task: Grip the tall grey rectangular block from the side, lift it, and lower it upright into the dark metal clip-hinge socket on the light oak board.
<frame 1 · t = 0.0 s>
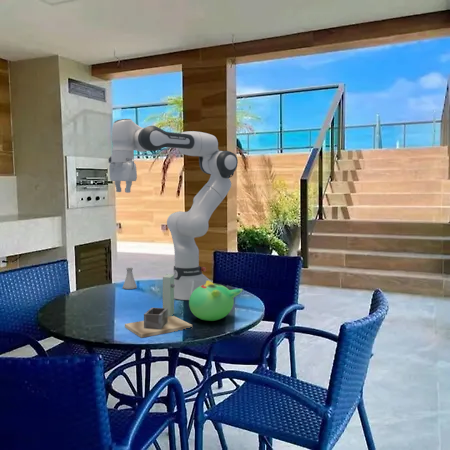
hand: (123, 192, 195), 48 cm above the table, tool pointing down, fingers open, 8 cm apart
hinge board: (158, 327, 170), on the table
tall grey rectangular block: (168, 315, 186), on the table
toy bird: (212, 320, 181), on the table
flask: (129, 288, 233), on the table
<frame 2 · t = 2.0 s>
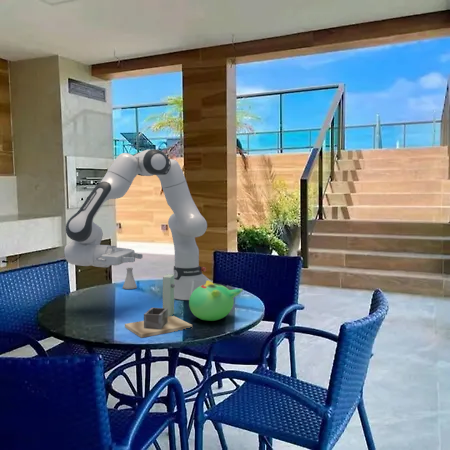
hand: (138, 258, 185), 23 cm above the table, tool horizontal, fingers open, 8 cm apart
nothing on the table moved.
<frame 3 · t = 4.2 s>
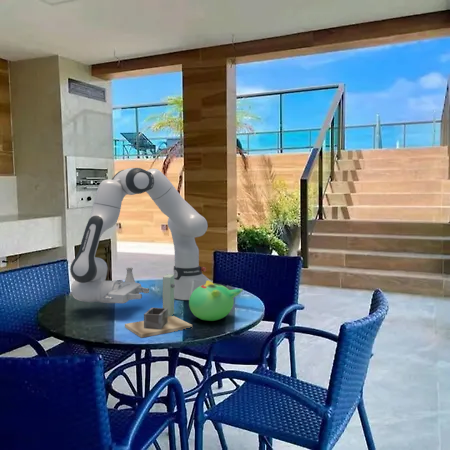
hand: (145, 293, 186), 8 cm above the table, tool horizontal, fingers open, 8 cm apart
nothing on the table moved.
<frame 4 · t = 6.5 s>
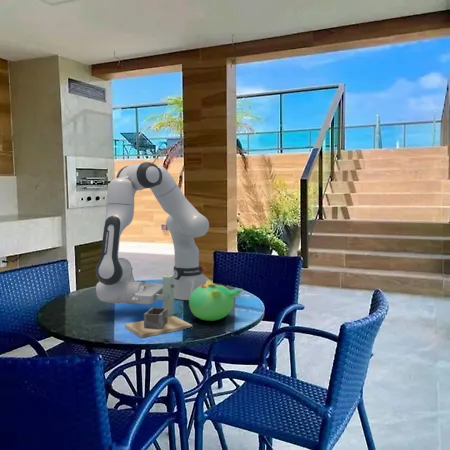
hand: (170, 294, 185), 9 cm above the table, tool horizontal, fingers closed on tall grey rectangular block, 6 cm apart
tall grey rectangular block: (168, 315, 186), on the table, touching gripper
everything else where it was.
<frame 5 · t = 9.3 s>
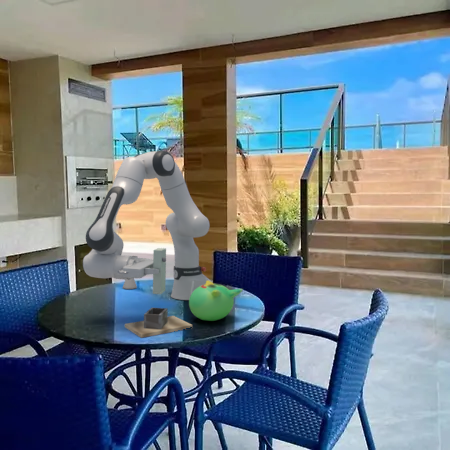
hand: (161, 269, 173), 20 cm above the table, tool horizontal, fingers closed on tall grey rectangular block, 6 cm apart
tall grey rectangular block: (159, 292, 174), point 12 cm above the table, touching gripper
everything else where it was.
when the fingers open (11 cm above the table, at t = 12.4 s): tall grey rectangular block drops 1 cm, resting on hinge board.
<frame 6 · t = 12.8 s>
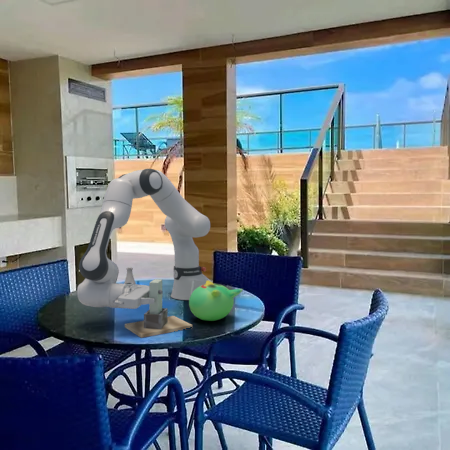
hand: (158, 297, 169), 11 cm above the table, tool horizontal, fingers open, 8 cm apart
tall grey rectangular block: (155, 324, 170), point 1 cm above the table, touching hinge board
everything else where it was.
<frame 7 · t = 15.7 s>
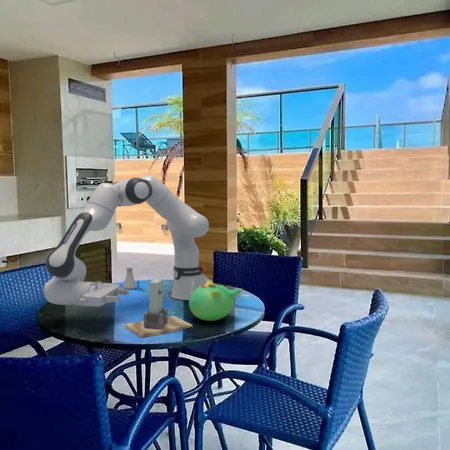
hand: (123, 295, 170), 11 cm above the table, tool horizontal, fingers open, 8 cm apart
nothing on the table moved.
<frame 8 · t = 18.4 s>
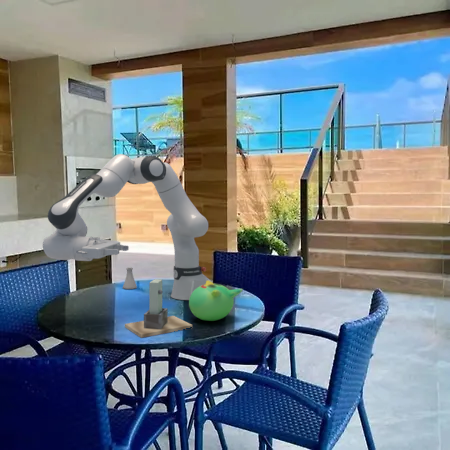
hand: (123, 250, 169), 28 cm above the table, tool horizontal, fingers open, 8 cm apart
nothing on the table moved.
at the end: tall grey rectangular block 0.1 cm from the target spot on the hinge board, point 1.2 cm above the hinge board's base; tall grey rectangular block tilted 0°; the gripper is holding nothing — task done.
